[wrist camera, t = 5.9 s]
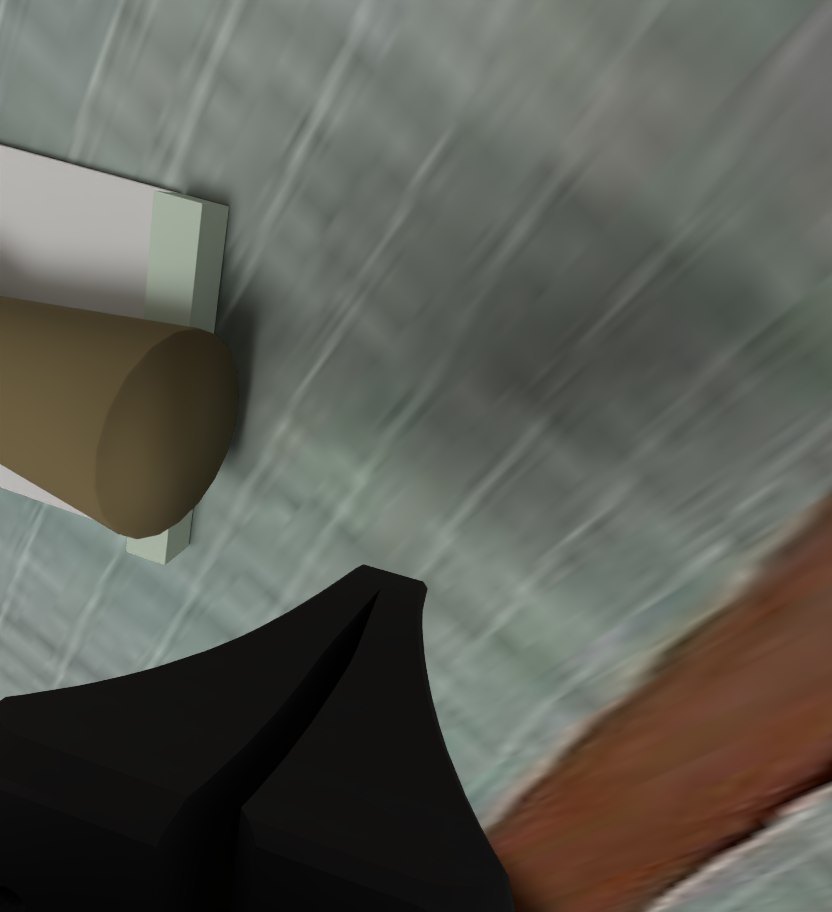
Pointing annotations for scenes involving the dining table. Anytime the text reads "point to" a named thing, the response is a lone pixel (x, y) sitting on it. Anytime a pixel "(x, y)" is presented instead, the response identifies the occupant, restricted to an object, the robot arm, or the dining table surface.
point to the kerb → (181, 302)
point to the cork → (114, 411)
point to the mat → (71, 247)
